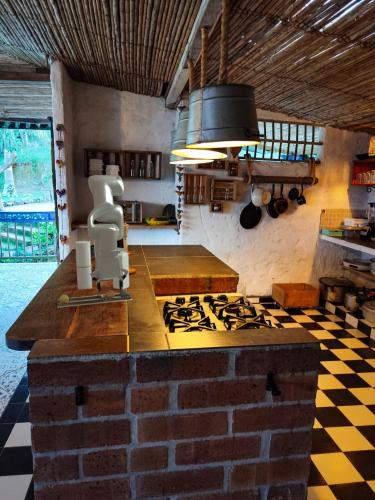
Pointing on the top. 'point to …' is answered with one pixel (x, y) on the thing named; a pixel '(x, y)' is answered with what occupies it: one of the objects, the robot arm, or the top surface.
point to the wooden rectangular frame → (116, 298)
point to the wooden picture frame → (81, 301)
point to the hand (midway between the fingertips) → (110, 289)
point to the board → (93, 299)
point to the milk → (125, 265)
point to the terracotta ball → (110, 294)
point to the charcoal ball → (123, 293)
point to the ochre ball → (64, 299)
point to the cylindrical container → (83, 264)
